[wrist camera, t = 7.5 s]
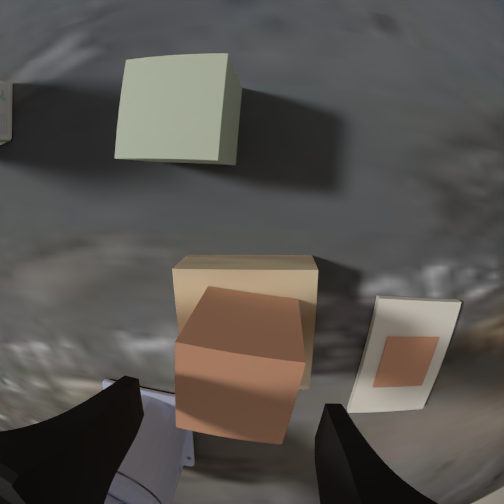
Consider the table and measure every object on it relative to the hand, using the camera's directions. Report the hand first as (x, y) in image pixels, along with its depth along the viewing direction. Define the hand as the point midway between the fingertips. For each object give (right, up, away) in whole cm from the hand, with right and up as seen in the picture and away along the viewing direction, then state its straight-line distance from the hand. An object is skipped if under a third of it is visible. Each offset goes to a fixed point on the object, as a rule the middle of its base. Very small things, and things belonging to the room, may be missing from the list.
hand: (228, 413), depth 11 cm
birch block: (+1, +2, +11) cm, 11 cm away
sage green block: (-2, +14, +8) cm, 16 cm away
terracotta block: (+1, +2, +7) cm, 7 cm away
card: (+12, -2, +10) cm, 16 cm away
